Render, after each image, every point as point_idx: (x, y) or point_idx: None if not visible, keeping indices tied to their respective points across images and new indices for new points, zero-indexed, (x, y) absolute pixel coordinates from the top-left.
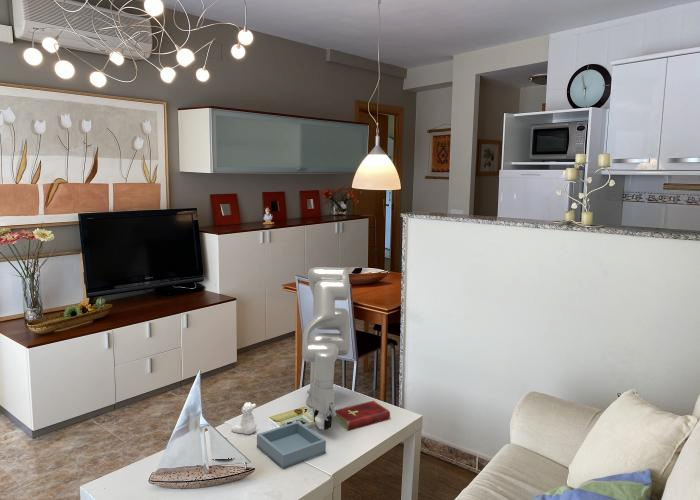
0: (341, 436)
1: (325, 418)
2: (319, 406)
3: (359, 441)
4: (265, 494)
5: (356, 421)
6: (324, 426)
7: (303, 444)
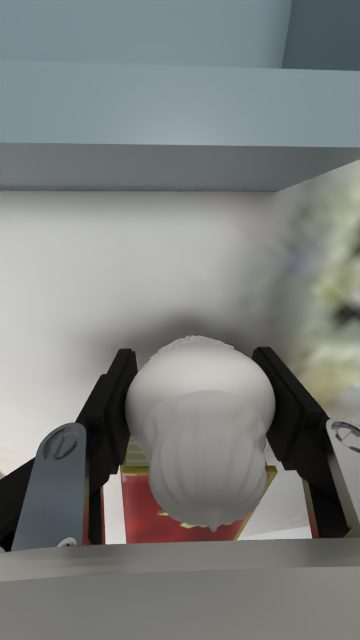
0: (92, 387)
1: (79, 446)
2: None
3: (15, 419)
4: None
5: (122, 492)
6: (116, 363)
7: (27, 32)
